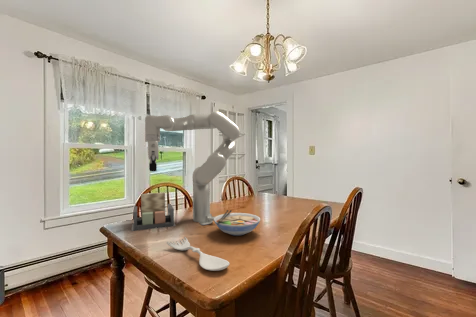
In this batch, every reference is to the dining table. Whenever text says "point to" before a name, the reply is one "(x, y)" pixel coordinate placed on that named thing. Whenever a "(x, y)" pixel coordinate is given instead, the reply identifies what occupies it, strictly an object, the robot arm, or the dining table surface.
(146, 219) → the sage offcut
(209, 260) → the white spork utensil
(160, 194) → the birch sheet
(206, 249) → the dining table surface
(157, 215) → the terracotta offcut
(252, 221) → the ramen bowl
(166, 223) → the offcut rack
